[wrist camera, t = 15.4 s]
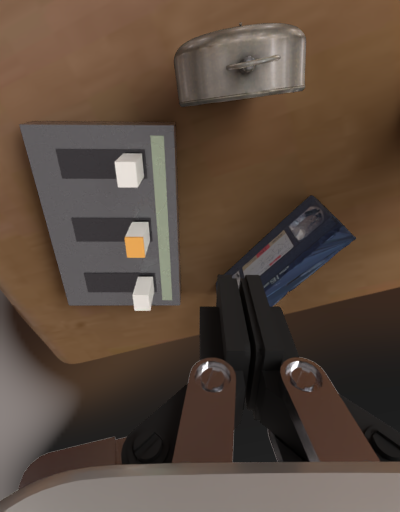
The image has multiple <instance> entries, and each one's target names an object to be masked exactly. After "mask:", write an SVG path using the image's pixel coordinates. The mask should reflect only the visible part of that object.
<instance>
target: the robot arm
mask: <svg viewBox="0 0 400 512" xmlns="http://www.w3.org/2000/svg"><path fill="white" fill-rule="evenodd" d="M245 398H246V404H247V409H248V410H253V415H254V420H260V423H262V424H263V425H264V426H265V427H267V428H268V435H269V439H270V441H271V444H272V447H273V450H274V453H275V456H276V458H277V462H246V463H245V462H242V463H241V462H239V463H233V440H234V430H235V428H236V427H237V426H238V425H239V424H240V423H241V418H242V411H243V409H244V402H245ZM0 512H400V433H399V432H397V431H396V430H395V429H393V428H392V427H390V426H389V425H387V424H386V423H384V422H382V421H381V420H379V419H378V418H376V417H375V416H373V415H371V414H370V413H368V412H367V411H365V410H363V409H362V408H360V407H359V406H357V405H356V404H354V403H353V402H351V401H350V400H348V399H346V398H345V397H343V396H342V395H340V394H338V392H337V391H336V389H335V387H334V386H333V384H332V383H331V381H330V380H329V378H328V376H327V375H326V373H325V372H324V370H323V369H322V368H321V367H320V366H319V365H317V364H316V363H315V362H312V361H311V360H308V359H305V358H301V357H299V355H298V352H297V350H296V347H295V344H294V342H293V339H292V336H291V333H290V331H289V328H288V325H287V323H286V320H285V318H284V315H283V312H282V310H281V308H280V307H270V306H269V303H268V300H267V297H266V294H265V291H264V287H263V284H262V281H261V278H260V276H259V275H245V278H240V284H239V287H238V283H237V278H232V276H231V275H218V279H217V302H216V307H200V361H198V362H197V363H196V364H195V365H194V366H193V367H192V369H191V372H190V376H189V380H188V384H187V385H185V386H184V387H183V388H182V389H181V390H180V391H178V392H177V393H176V394H175V395H174V396H173V397H171V398H170V399H169V400H168V401H167V402H166V403H164V404H163V405H162V406H161V407H160V408H159V409H158V410H156V411H155V412H154V413H153V414H152V415H150V416H149V417H148V418H147V419H146V420H145V421H143V422H142V423H141V424H140V425H139V426H137V427H136V428H135V429H134V430H133V431H132V432H131V433H130V434H129V435H128V436H127V437H125V438H121V439H115V437H111V438H107V439H102V440H99V441H95V442H90V443H86V444H82V445H78V446H74V447H70V448H66V449H62V450H58V451H54V452H50V453H47V454H45V455H42V456H40V457H39V458H38V459H36V460H35V461H34V462H32V463H31V464H30V465H29V467H28V468H27V469H26V471H25V472H24V474H23V476H22V479H21V481H20V483H19V488H18V490H17V491H16V492H14V493H12V494H10V495H9V496H7V497H6V498H4V499H2V500H1V501H0Z"/></svg>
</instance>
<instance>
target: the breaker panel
mask: <svg viewBox="0 0 400 512" xmlns="http://www.w3.org/2000/svg"><path fill="white" fill-rule="evenodd" d="M19 125H20V129H21V133H22V136H23V140H24V143H25V147H26V151H27V154H28V158H29V162H30V165H31V169H32V173H33V176H34V180H35V183H36V187H37V191H38V194H39V198H40V202H41V205H42V209H43V213H44V216H45V220H46V223H47V227H48V231H49V234H50V238H51V242H52V245H53V249H54V253H55V256H56V260H57V263H58V267H59V271H60V274H61V278H62V282H63V285H64V289H65V293H66V296H67V300H68V303H69V305H134V303H133V292H134V288H135V285H136V282H137V278H138V277H153V284H154V295H153V300H152V305H180V300H181V274H180V243H179V212H178V181H177V150H176V122H78V121H32V122H28V123H24V124H19ZM123 153H142V159H143V171H144V178H143V179H142V181H141V183H140V185H139V186H138V188H136V187H118V184H117V177H116V170H115V161H116V160H117V159H118V158H119V157H120V156H121V155H122V154H123ZM132 222H149V234H150V242H149V246H148V249H147V252H146V256H145V258H127V253H126V246H125V236H126V234H127V231H128V229H129V227H130V225H131V223H132Z"/></svg>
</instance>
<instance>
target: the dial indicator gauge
mask: <svg viewBox="0 0 400 512" xmlns="http://www.w3.org/2000/svg"><path fill="white" fill-rule="evenodd" d="M239 25H240V26H239V27H234V28H228V29H223V30H219V31H215V32H211V33H208V34H204V35H201V36H199V37H196V38H193V39H191V40H189V41H187V42H186V43H184V44H183V45H182V46H181V47H180V48H179V49H178V50H177V52H176V54H175V57H174V67H175V74H176V81H177V89H178V96H179V104H180V106H181V107H185V106H195V105H201V104H207V103H215V102H224V101H231V100H239V99H247V98H254V97H262V96H267V95H275V94H283V93H290V92H297V91H302V90H304V88H305V57H306V37H305V35H304V33H303V32H302V31H301V30H300V29H299V28H298V27H296V26H293V25H289V24H283V23H264V24H254V25H246V26H241V25H242V23H239Z"/></svg>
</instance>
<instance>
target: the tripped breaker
mask: <svg viewBox="0 0 400 512" xmlns="http://www.w3.org/2000/svg"><path fill="white" fill-rule="evenodd" d="M149 242H150V234H149V222H132V223H131V225H130V227H129V229H128V231H127V234H126V236H125V246H126V253H127V258H145V256H146V252H147V249H148V246H149Z"/></svg>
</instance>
